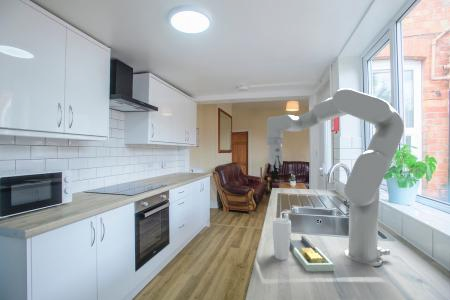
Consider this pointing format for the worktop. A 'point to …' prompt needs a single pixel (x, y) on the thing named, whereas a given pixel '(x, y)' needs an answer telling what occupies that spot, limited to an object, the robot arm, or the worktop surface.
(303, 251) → the gold cube
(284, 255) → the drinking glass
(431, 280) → the worktop surface
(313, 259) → the tan cube
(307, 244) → the slot board
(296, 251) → the tray
